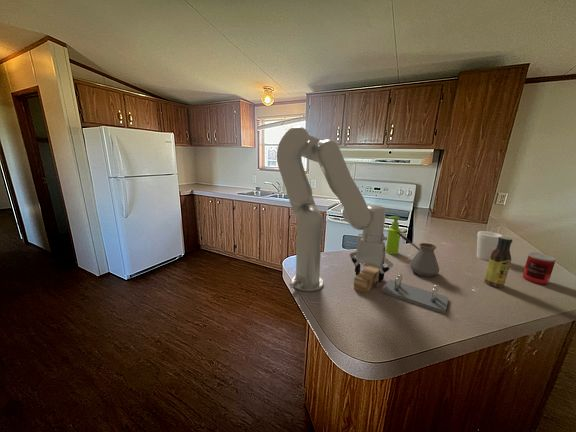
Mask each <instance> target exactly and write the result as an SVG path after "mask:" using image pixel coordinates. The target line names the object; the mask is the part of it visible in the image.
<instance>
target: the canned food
mask: <svg viewBox="0 0 576 432" xmlns="http://www.w3.org/2000/svg"><path fill="white" fill-rule="evenodd" d="M555 264H556V258H555V257H553V256H551V255H548V254H545V253H539V252H530V253H528V256H527V257H526V262H525V266H524V268H523V269H524V270H523V272H522V273H523V274H522V278H523V279H524V280H525V281H527V282H529V283H533V284H534V285H535V284H536V285H541V286H544V285H545V286H546V285H548V284H549V281H550V279H551V276H552V273H553V269H554V267H555Z"/></svg>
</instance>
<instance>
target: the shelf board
mask: <svg viewBox="0 0 576 432" xmlns="http://www.w3.org/2000/svg"><path fill="white" fill-rule="evenodd" d="M379 273H380V270H379V269H378V267H374V266H370V265H367V266H366V267H365V268H364V269H362V270H360V273H359V274H358V275H355V277H353V278H354V280H353V289H354V290H357V291H359V292H361V293H363V294H364V293H365V294H367V293H368V292H369V291H370V290H371V289H372V287H373V286H374V285H375V284H376V283H377V282H378V279H379Z"/></svg>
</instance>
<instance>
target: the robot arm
mask: <svg viewBox="0 0 576 432" xmlns="http://www.w3.org/2000/svg"><path fill="white" fill-rule="evenodd" d="M276 150H277V151H276V162H277V167H278V170H279V172H280V176H281V179H282V182H283V184H284V187H285V190H286V191H285V192H286V196H287V199H288V201H289V203H290V205H291V206H290V207H291V208H292V211H293V214H294V216H295V219H296V220H295V221H296V242H295V243H296V244H295V245H296V246H295V247H296V254H295V255H296V256H295V259H296V260H295V275H294V277H292V279H291V282H289V287H290V288H291V289H293V288H295V289H297V290H299V291H301V292H302V291H303V292H308V293H309V292H316V291H319V290H320V289H322V288H323V286H324V280H323V278H322V277H321V273H320V272H321V258H322V257H321V253H322V236H323V229H324V217H323V215H322V213H321V211H320V210H319V209H318V207H317V205H316V203H315V200H314V196H313V188H312V186H311V184H310V181H309V179H308V177H307V174H306V171H305V167H304V164H303V159H302V157H303V158H304V159H306V160H309V161H313V162H316V163H318V164H319V167H320V169H321V172H322V173H323V175H324V177H325V180H326V182H327V185H328V186H329V188H330V190H331V192H332V193H333V194H334V195H335V196H336V198H337V199H338V200H339V202H340V203H341V205H342V207H343V210H342V215H341V216H342V217H343V219H344V221H345V222H347V224H348V225H350V226H351V227H352V228H353V229H355V230H357V231H362V234H363V236H362V238H361V240H360V243H359V247H358V251H354V252H350V253H349V257H350V259H351V262H352V263H353V265H354V272H355V276H357V275H358V274H359V273H360V272H361V267H362V265H361V264H364V265H367V266H368V265H370V266H374V267H378V269H379V270H380V273H379V279H378V281H377V282H378V283H382V281H383V280H384V278H385V273H387V272H388V271H390V270H391V268H393V266H394V263H393V262H392V261H390V260H389V259H388V258H386V242H387V239H388V236H385V234H384V231H385V223H386V222H385V221H386V211H387V210H386V208H385V207H384V206H382V205H373V204H372V205H367V202H366V201H365V198H364V196H363V195H362V192H361V191H360V189H359V188H358V186H357V183H356V182H355V180H354V179H353V177H352V175H351V173H350V170H349V168H348V166H347V163H346V161H345V159H344V156H343V153H342V152H341V149H340V147H339V145H338V144H337V142H336V141H334V139H333V140H332V139H324V140H323V139H320V138H318V137H315V136H312V135H310V134H309V132H308V131H307V129H305V127H303V126H300V125H297V126H292V127H290V128H289V129H288V130H287V131H286V132H285V133H284V135H283V136H282V137H281V139H280V141H279V142H278V145H277V149H276ZM385 241H386V242H385ZM356 255H357V258H356ZM384 264H386V265H387V266H386V267H385V266H384Z"/></svg>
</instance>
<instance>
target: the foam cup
mask: <svg viewBox="0 0 576 432" xmlns="http://www.w3.org/2000/svg"><path fill="white" fill-rule="evenodd" d="M476 237H477V238H476V239H477V242H476V257H477V258H478V259H481V260H484V261H489V259H490V256H491V253H492V251H493V250H494V249H496V248H497V245H498V238H499V237H504V235H502V234H501V233H496V232H494V231H488V230H487V231H486V230H479V231H478V232H477V235H476Z"/></svg>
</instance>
